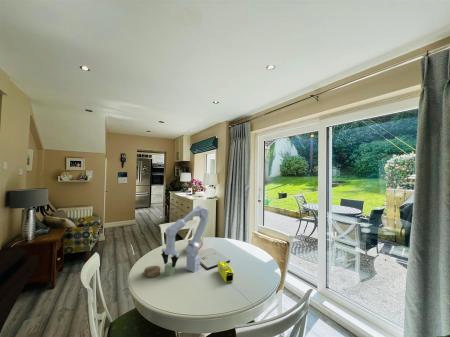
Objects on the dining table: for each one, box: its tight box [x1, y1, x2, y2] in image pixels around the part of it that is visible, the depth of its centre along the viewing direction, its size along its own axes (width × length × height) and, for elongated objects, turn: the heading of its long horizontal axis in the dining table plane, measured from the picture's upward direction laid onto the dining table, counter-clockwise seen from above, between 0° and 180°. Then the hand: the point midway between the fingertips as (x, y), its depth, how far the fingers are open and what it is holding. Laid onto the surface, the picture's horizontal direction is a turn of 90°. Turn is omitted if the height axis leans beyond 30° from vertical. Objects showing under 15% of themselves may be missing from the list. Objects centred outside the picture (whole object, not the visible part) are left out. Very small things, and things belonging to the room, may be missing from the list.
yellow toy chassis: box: [217, 260, 234, 283], centre depth 134 cm, size 16×6×8 cm, turn 21°
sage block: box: [164, 262, 176, 277], centre depth 136 cm, size 4×4×6 cm
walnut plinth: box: [143, 265, 161, 279], centre depth 134 cm, size 10×10×3 cm
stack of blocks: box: [187, 234, 204, 252], centre depth 176 cm, size 21×6×12 cm, turn 169°
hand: (169, 265), depth 135 cm, fingers open, 7 cm apart
